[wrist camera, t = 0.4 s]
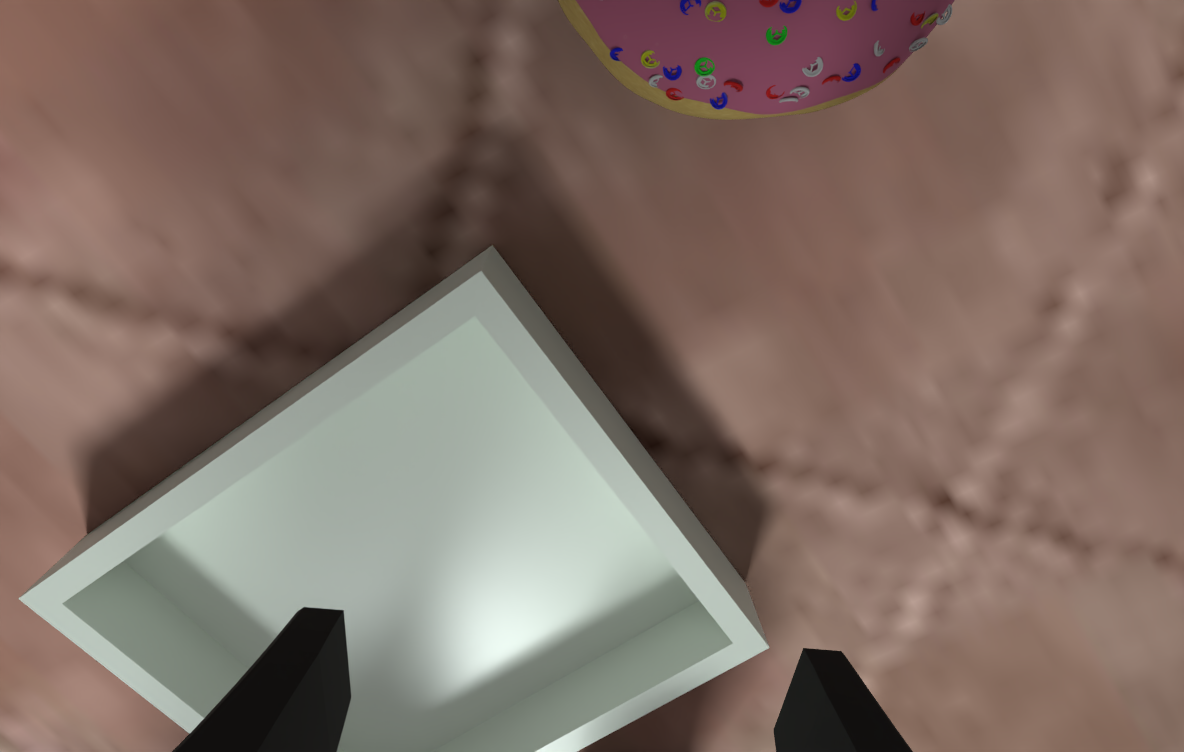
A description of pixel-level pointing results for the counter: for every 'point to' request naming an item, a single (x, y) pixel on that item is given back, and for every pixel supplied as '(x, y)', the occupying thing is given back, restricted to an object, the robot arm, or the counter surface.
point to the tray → (423, 545)
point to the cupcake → (753, 50)
